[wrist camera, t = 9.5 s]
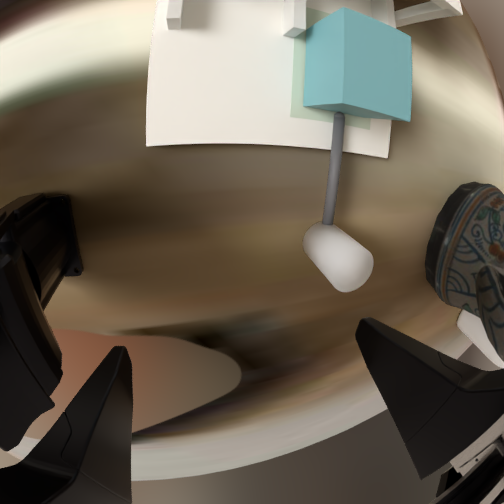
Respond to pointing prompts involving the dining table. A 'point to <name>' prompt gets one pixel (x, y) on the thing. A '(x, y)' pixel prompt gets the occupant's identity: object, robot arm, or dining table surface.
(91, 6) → the dining table surface
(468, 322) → the milk bottle
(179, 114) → the shelf
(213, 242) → the dining table surface
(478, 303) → the beer stein
